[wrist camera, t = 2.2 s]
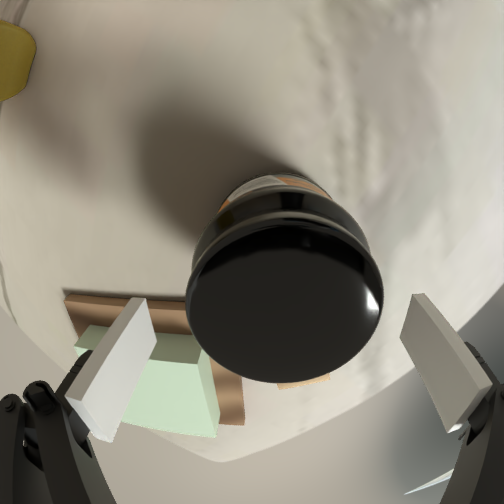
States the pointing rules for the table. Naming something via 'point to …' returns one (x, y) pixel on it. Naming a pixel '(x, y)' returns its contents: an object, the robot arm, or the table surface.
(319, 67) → the table surface
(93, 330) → the pedestal slab
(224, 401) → the board
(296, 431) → the table surface
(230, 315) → the supplement container
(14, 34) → the flower pot
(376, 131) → the table surface
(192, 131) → the table surface
